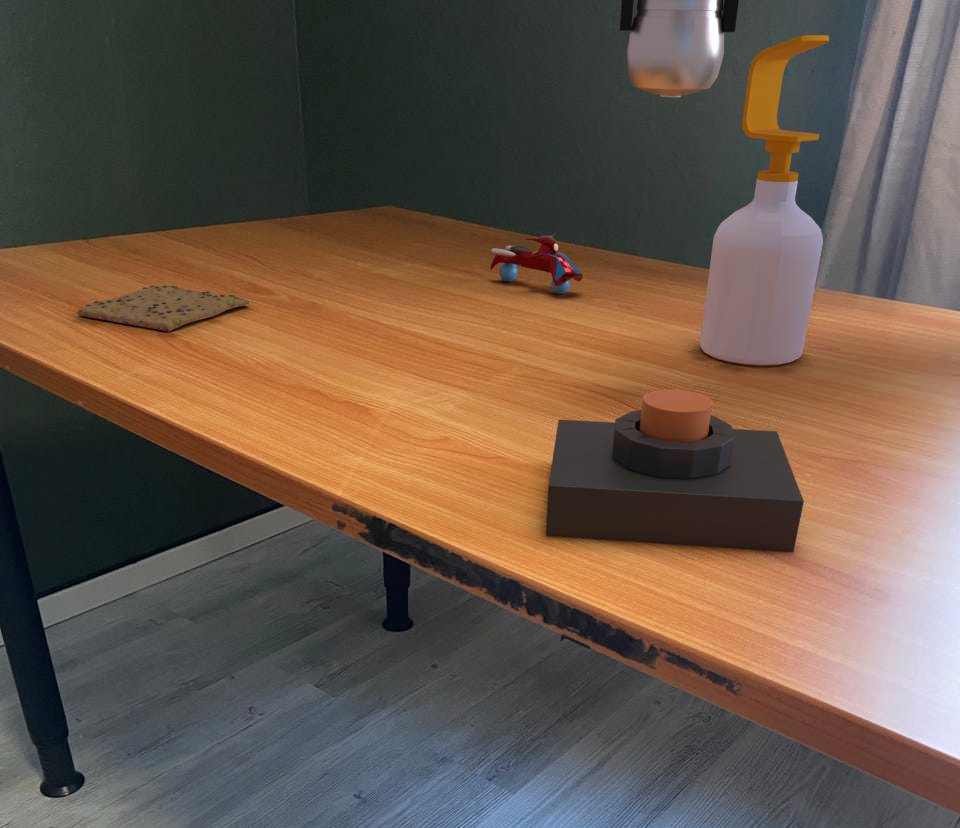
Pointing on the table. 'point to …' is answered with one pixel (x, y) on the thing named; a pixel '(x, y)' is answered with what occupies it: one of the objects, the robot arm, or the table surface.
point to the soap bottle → (765, 239)
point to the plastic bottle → (676, 46)
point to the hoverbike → (538, 262)
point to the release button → (675, 415)
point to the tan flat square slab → (161, 307)
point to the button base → (672, 487)
